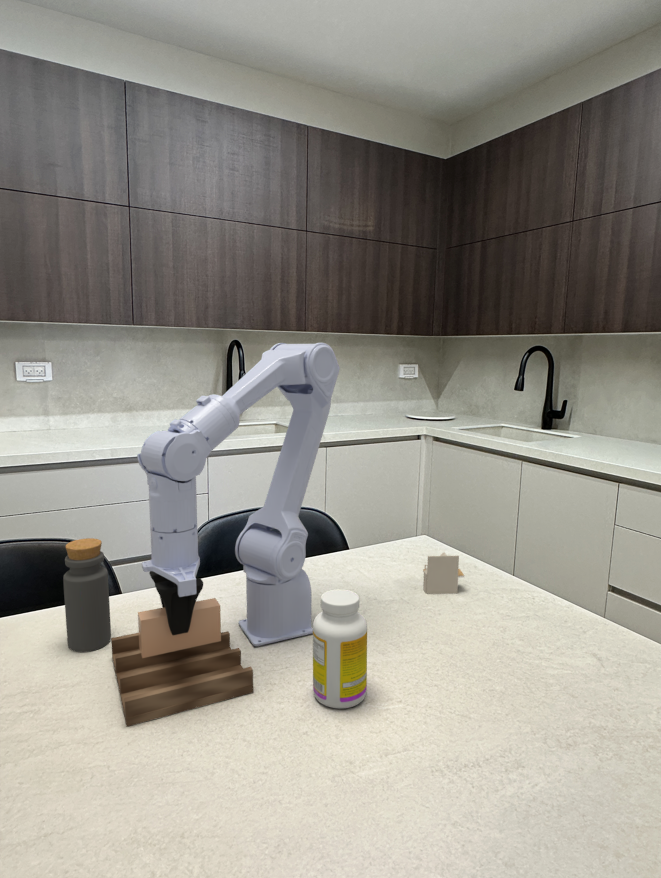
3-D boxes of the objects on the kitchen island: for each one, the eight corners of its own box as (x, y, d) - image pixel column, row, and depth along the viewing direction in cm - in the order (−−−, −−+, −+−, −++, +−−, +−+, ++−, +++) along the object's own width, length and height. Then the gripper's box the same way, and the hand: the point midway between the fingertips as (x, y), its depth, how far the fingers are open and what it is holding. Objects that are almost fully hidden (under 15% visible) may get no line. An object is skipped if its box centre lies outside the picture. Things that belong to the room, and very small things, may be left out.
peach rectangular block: (216, 632, 76) (215, 597, 76) (221, 641, 74) (220, 605, 74) (139, 648, 72) (137, 612, 71) (142, 658, 70) (140, 620, 69)
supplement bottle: (372, 685, 72) (374, 589, 70) (357, 716, 65) (359, 612, 64) (323, 675, 74) (323, 582, 72) (304, 704, 68) (304, 603, 66)
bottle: (95, 654, 78) (89, 552, 76) (58, 650, 79) (51, 548, 77) (119, 634, 84) (114, 538, 82) (84, 630, 85) (78, 535, 83)
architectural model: (421, 588, 102) (422, 549, 101) (458, 588, 103) (460, 549, 102) (425, 596, 99) (426, 556, 98) (464, 596, 99) (465, 555, 98)
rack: (218, 634, 84) (218, 616, 84) (253, 692, 70) (253, 670, 69) (112, 658, 77) (111, 637, 77) (126, 726, 63) (125, 702, 63)
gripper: (133, 515, 75) (137, 610, 77) (150, 548, 62) (154, 662, 64) (186, 509, 78) (188, 600, 80) (212, 540, 66) (215, 648, 68)
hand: (177, 627), depth 73 cm, fingers closed on peach rectangular block, 2 cm apart
